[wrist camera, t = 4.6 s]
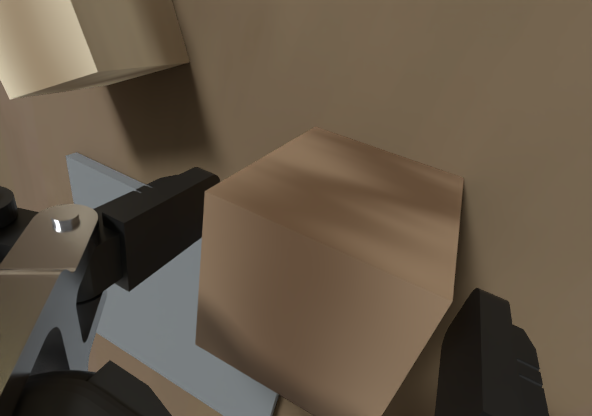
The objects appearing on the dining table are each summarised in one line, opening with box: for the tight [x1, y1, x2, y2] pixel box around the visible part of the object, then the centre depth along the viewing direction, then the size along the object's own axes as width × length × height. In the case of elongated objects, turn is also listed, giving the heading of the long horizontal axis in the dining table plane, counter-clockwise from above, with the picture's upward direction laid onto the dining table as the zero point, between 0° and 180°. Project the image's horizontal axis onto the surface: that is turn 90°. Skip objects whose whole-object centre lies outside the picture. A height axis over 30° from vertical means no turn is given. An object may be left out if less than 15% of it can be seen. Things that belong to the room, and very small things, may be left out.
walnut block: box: [195, 127, 464, 416], centre depth 10 cm, size 5×5×6 cm
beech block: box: [0, 0, 190, 99], centre depth 12 cm, size 5×4×4 cm
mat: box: [66, 153, 279, 416], centre depth 20 cm, size 14×14×1 cm
